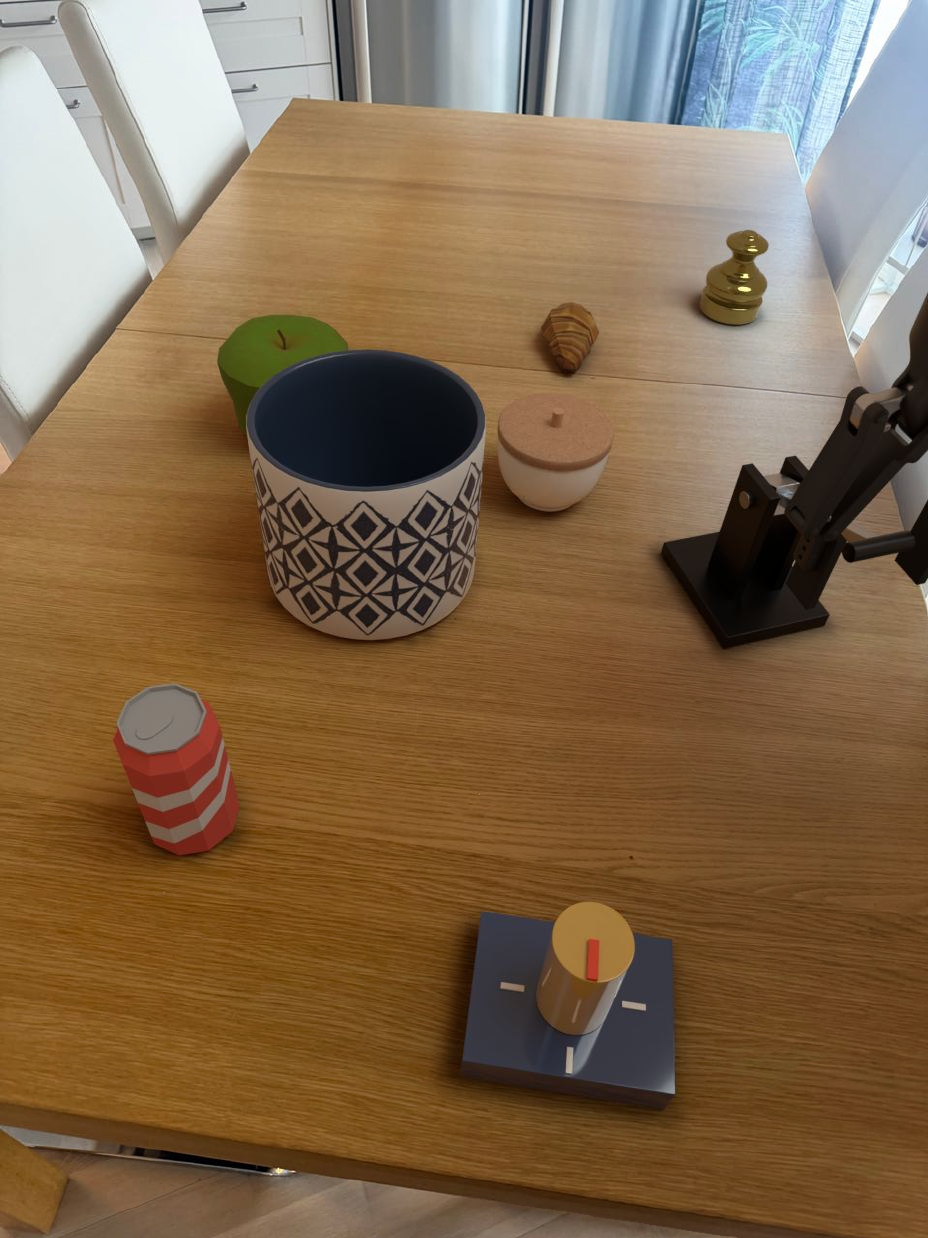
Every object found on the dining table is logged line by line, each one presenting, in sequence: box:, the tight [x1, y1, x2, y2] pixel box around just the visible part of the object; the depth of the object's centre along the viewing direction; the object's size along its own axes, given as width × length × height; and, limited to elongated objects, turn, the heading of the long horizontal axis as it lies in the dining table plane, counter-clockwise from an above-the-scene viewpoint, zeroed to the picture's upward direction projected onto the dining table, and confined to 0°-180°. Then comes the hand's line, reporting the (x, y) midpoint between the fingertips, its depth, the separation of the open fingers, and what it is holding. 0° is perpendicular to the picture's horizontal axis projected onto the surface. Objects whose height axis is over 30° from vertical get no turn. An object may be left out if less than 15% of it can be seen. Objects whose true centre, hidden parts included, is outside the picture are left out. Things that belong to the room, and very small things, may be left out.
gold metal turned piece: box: [699, 229, 770, 326], centre depth 112 cm, size 7×7×10 cm
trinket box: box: [496, 392, 615, 513], centre depth 87 cm, size 11×11×9 cm
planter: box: [246, 348, 487, 641], centre depth 76 cm, size 18×18×16 cm
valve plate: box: [459, 910, 676, 1111], centre depth 56 cm, size 12×9×3 cm
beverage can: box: [112, 682, 241, 856], centre depth 60 cm, size 6×6×12 cm
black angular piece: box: [660, 455, 831, 650], centre depth 78 cm, size 12×10×13 cm
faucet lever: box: [763, 472, 915, 564], centre depth 70 cm, size 14×5×2 cm, turn 18°
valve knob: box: [536, 901, 635, 1035], centre depth 52 cm, size 4×4×8 cm
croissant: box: [540, 301, 600, 375], centre depth 107 cm, size 14×7×5 cm, turn 175°
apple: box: [216, 314, 350, 437], centre depth 91 cm, size 12×12×11 cm
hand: (855, 583), depth 68 cm, fingers open, 9 cm apart
